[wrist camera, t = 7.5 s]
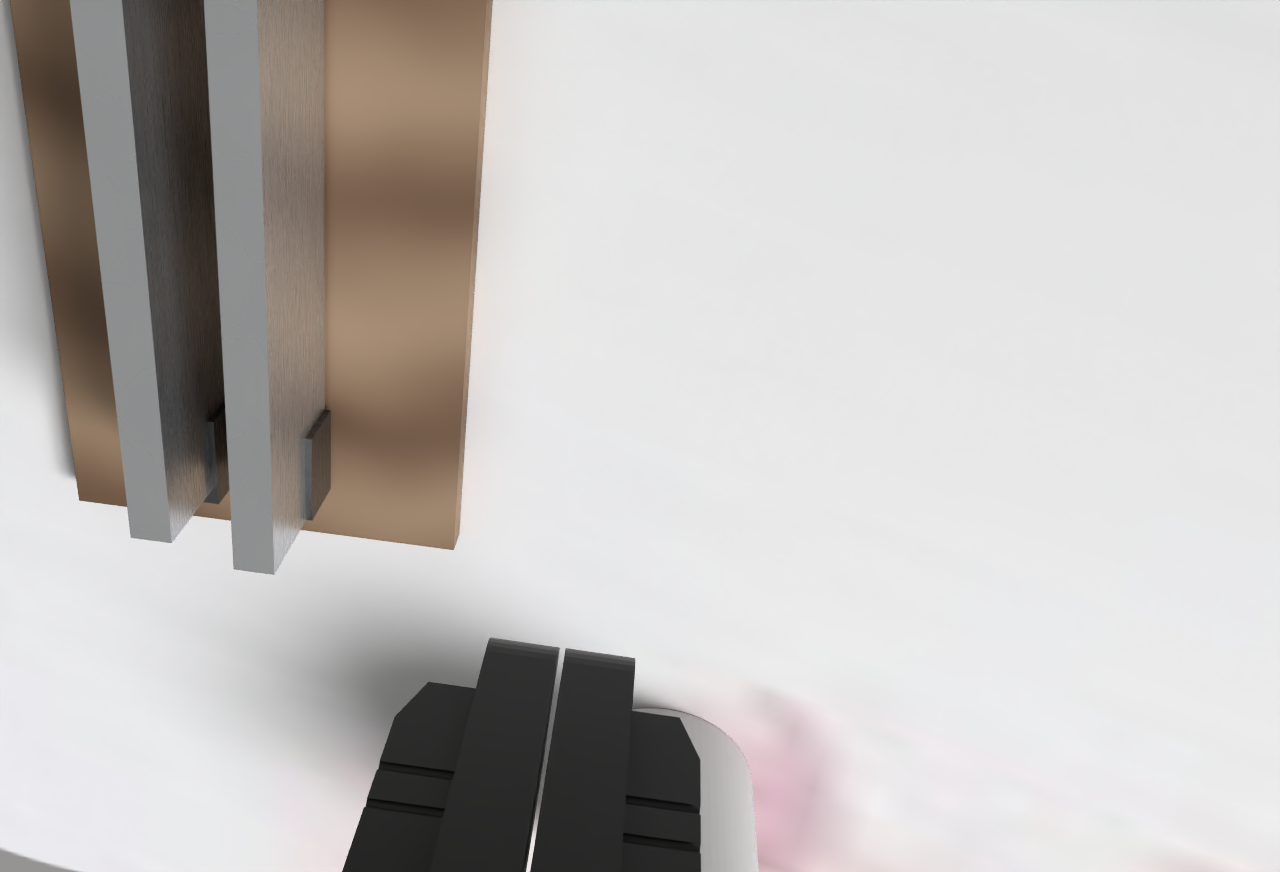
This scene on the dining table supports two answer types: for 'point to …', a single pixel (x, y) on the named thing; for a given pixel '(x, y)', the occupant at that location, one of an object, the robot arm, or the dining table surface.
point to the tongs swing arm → (270, 265)
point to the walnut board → (353, 257)
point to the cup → (721, 797)
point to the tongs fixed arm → (156, 250)
